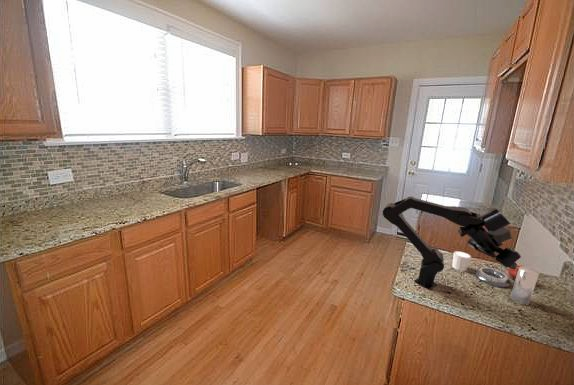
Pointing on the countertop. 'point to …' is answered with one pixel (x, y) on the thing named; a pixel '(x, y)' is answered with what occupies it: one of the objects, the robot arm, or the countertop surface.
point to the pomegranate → (513, 272)
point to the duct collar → (492, 277)
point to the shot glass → (461, 260)
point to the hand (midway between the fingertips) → (504, 262)
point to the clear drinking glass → (524, 285)
